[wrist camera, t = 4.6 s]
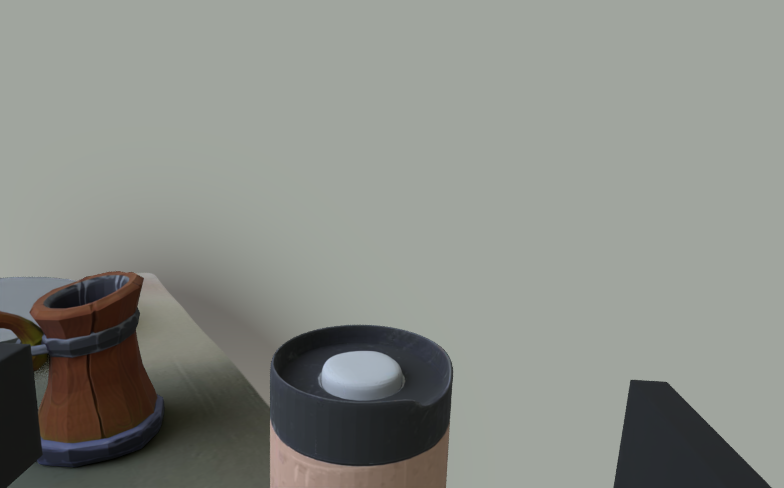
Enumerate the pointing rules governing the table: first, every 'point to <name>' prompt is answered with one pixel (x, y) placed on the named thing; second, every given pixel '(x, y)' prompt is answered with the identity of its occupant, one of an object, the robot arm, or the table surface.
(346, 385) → the travel mug
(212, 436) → the table surface
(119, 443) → the mug
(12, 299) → the flat disc
